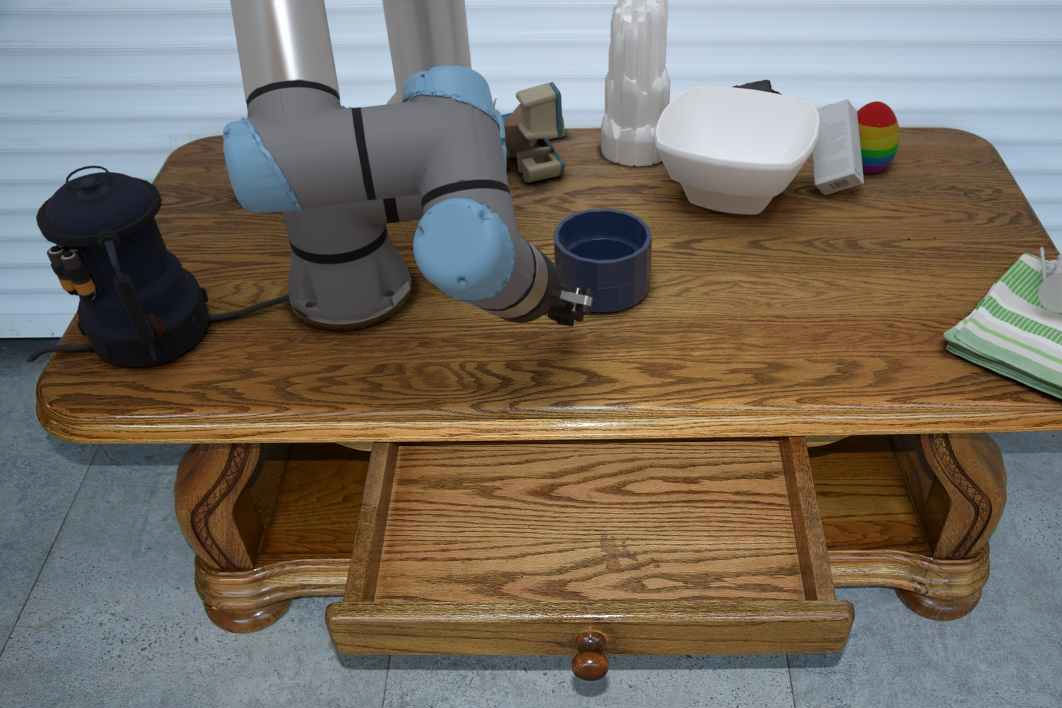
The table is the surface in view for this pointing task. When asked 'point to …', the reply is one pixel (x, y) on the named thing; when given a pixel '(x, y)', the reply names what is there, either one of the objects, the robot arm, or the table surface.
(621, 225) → the glazed bowl
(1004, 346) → the dish towel
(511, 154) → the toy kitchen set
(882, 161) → the decorative egg
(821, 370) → the table surface
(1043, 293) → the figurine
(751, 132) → the bowl
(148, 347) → the dark blue bag
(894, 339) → the table surface
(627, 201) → the table surface
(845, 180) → the cosmetic box
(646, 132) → the decorative vase
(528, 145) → the wooden block
